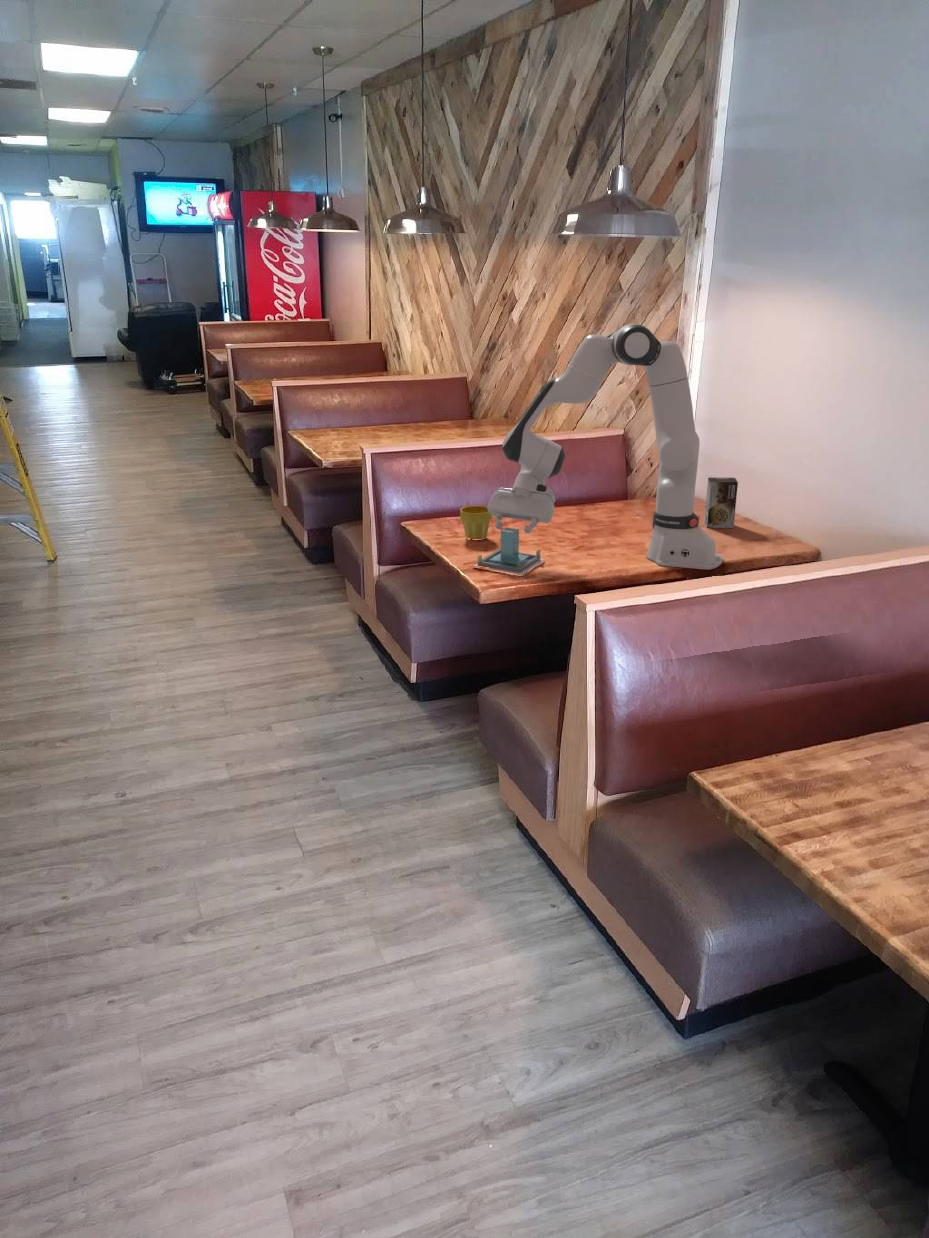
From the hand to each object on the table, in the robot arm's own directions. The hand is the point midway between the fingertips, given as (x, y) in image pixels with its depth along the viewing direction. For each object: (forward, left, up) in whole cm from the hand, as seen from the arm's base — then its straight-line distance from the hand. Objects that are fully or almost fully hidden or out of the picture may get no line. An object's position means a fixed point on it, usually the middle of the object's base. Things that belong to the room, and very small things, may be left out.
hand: (512, 530), depth 268 cm
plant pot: (+22, -19, -11) cm, 31 cm away
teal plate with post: (0, +1, -10) cm, 10 cm away
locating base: (0, +1, -10) cm, 11 cm away
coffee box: (-44, -71, -11) cm, 84 cm away
